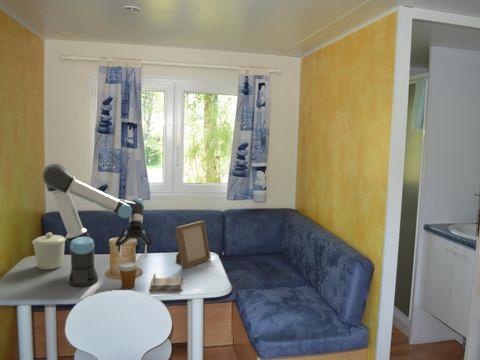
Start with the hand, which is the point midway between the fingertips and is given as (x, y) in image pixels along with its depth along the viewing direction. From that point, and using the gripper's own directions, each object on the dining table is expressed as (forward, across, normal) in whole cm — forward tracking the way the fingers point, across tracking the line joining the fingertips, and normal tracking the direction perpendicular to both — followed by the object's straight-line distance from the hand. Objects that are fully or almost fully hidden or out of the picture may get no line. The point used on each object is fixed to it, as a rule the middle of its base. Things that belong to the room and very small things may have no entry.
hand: (132, 256), depth 217 cm
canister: (-7, +51, -26) cm, 58 cm away
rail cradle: (+16, -19, -2) cm, 25 cm away
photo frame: (-9, -32, -28) cm, 44 cm away
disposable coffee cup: (+16, +1, -3) cm, 16 cm away
